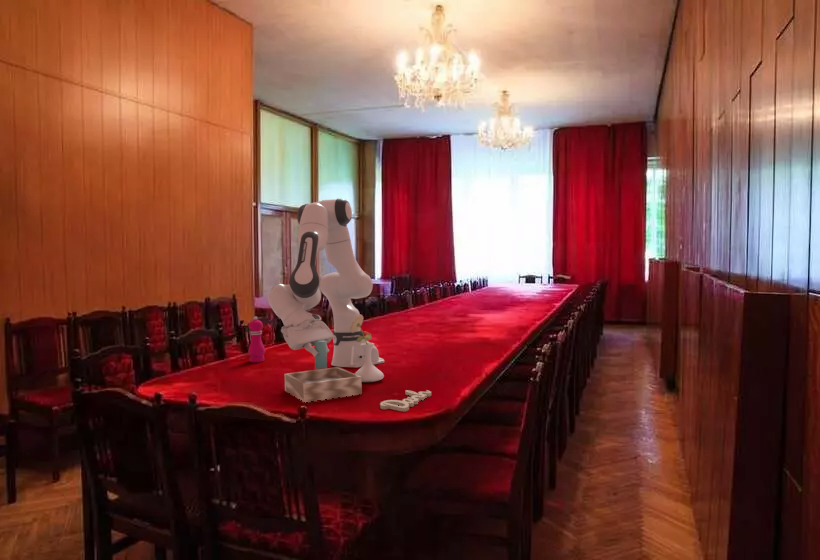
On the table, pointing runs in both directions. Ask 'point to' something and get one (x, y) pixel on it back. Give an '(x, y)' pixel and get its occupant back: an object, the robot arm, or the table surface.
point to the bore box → (323, 384)
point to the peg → (321, 355)
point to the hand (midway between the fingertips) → (322, 353)
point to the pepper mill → (256, 341)
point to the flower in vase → (366, 355)
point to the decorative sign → (405, 401)
